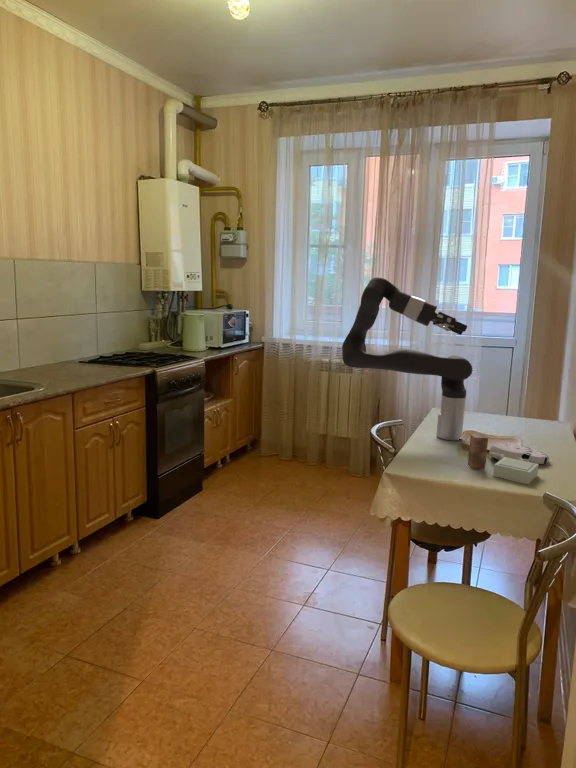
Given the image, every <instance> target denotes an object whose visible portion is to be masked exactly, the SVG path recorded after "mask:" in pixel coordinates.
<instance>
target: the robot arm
mask: <svg viewBox="0 0 576 768" xmlns="http://www.w3.org/2000/svg"><path fill="white" fill-rule="evenodd" d="M384 298H385V299H386V300H388V308H389V309H390V310H392V311H394V312H396V313H398V314H400V315H403V316H405V317H406V318H408V319H410V320H412V321H414V322H417V323H419V324H421V325H423V326H425V327H428V326H429V324H430V323H431V322H432V325H433V326H435V327H437V328H438V327H439V328H441V329H442V330H445V331H446V332H449V331H450V332H453V333H455V334H457V335H459V336H461V335H463V333H465V332H466V330H467V329H468V325H466V324H465V323H462V322H460V321H458V320H457V318H455V317H453V316H450V315H448V314H446V313H444V312H442V311H438V312H436V311H437V310H438V309H437V308H438V306H437V305H435V304H434V303H431V302H429V301H427V300H424V299H422V298H420V297H417V296H413V295H411V294H409V293H407V292H404V291H402V290H401V289H399V287H397V286H395V285H394V284H393V283H392V282H391V281H389V280H387V279H386V278H385V277H384V278H383V277H380V276H375V277H372V278H371V279H370V280H369V281H368V284H367V285H366V287H365V288H364V289H363V292H362V295H361V298H360V305H359V307H358V310H357V313H356V317H355V319H354V322H353V325H351V328H350V331H349V332H348V334H347V336H346V337H345V338H344V341H343V342H342V347H341V349H342V353H341V354H342V362H343V365H345V366H347V367H349V368H353V369H372V370H373V369H374V370H375V369H376V370H382V371H383V370H385V371H393V372H398V373H399V372H400V373H406V374H413V375H422V376H423V375H424V376H425V375H426V376H437V377H441V383H440V385H441V386H440V387H441V390H442V391H441V392H442V393H441V402H440V411H439V412H440V413H438V415H437V424H436V425H437V426H436V436H435V437H436V438H439V439H442V440H446V441H447V440H448V441H460V440H459V439H460V437H461V436H463V430H464V429H463V428H464V420H465V419H464V418H465V409H466V398H467V389H466V387H465V380H467V379H468V378H470V377H471V375H472V373H473V367H472V366H473V365H472V363H470V361H469V360H468V359H467V358H464V357H462V356H459V355H450V356H448V357H441V356H436V355H433V354H430V353H427V352H423V351H419V350H416V349H409V348H396V349H392V350H390V351H388V352H385V353H381V354H374V353H373V354H372V353H367V346H366V339H367V338H366V337H367V333H368V332H369V330H370V329H371V328H372V327H373V326H374V324H375V322H376V320H377V317H378V315H379V311H380V305H381V303H382V300H383V299H384Z"/></svg>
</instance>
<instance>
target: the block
mask: <svg viewBox="0 0 576 768" xmlns="http://www.w3.org/2000/svg"><path fill="white" fill-rule="evenodd" d="M469 438H470V439H469V440H470V441H469V446H468V447H469V448H468V449H469V450H468V457H467V465H469V466H470V467H469V466H468V467H469V468H470V469H471V470H484V469H485V470H486V462H487V455H488V454H487V452H488V442H489V437H488V436H486V435H485V434H479V433H471V434H470V437H469Z"/></svg>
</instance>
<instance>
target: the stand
mask: <svg viewBox="0 0 576 768" xmlns="http://www.w3.org/2000/svg"><path fill="white" fill-rule="evenodd" d="M539 465H540V464H536V463H531V462H526V461H521V460H517V459H512V458H507V457H504V458H502V459H501V460H498V461H497V462H495V463H494V466H493V474H492V475H493V476H492V477H495V476H496V478H499V477H500V478H499V479H503V478H504V480H508V481H512V482H516V483H517V482H518V483H521V484H525V485H529V484H530V483H532V481H534V479H536V478H537V477H538V473H539V472H538V471H539Z"/></svg>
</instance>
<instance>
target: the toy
mask: <svg viewBox="0 0 576 768" xmlns="http://www.w3.org/2000/svg"><path fill="white" fill-rule="evenodd" d="M489 455H490V457H492V458H494V459H496V460H498V461H500V460H501V459H502V458H504V457H507V458H512V459H517V460H521V461H526V462H531V463H535V464H539V465H546V464H548V463H549V459H550V457H549V455H548V454H547V453H544V452H542V451H539V450H536V449H533V448H531V447H529V446H520V445H516V444H512V443H510V442H506V444H501V443H499V444H498V443H494V444H492V445H491V446H490V448H489Z"/></svg>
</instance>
